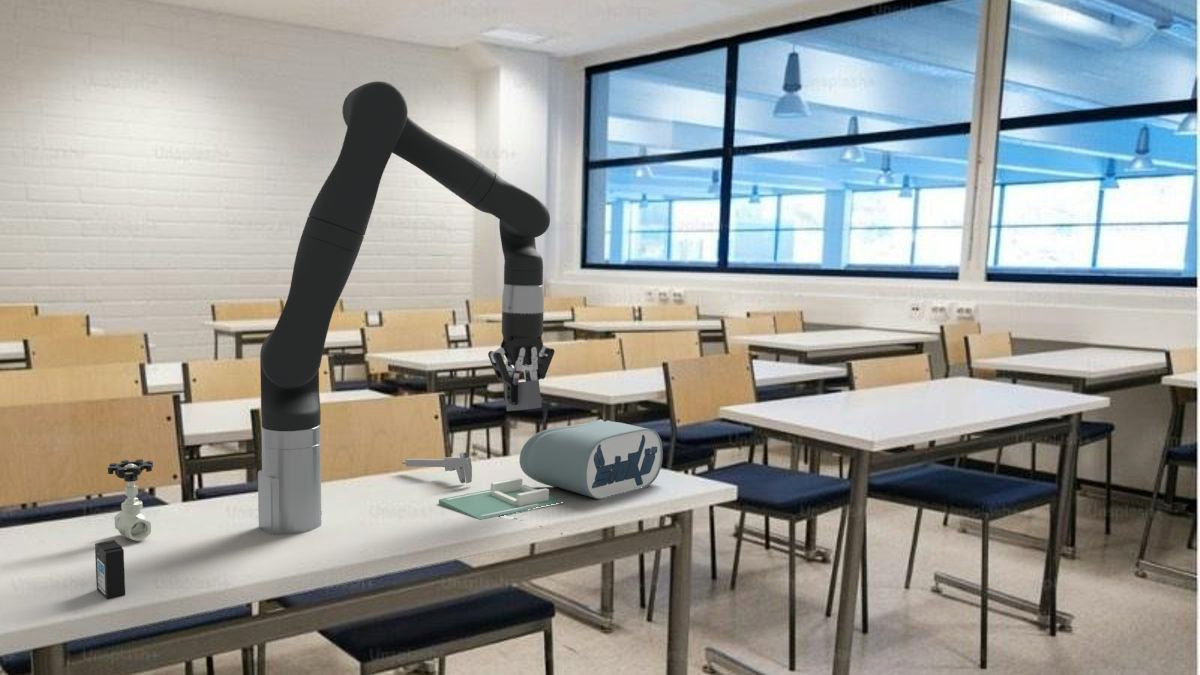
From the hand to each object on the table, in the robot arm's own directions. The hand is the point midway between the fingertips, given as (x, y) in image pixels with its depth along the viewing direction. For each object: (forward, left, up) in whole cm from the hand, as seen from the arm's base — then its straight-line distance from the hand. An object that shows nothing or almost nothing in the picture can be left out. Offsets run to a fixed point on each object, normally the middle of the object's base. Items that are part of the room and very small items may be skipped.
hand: (521, 403), depth 167 cm
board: (-4, 0, -19) cm, 19 cm away
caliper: (-4, +25, -20) cm, 32 cm away
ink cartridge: (-69, -5, -19) cm, 72 cm away
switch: (0, -4, +2) cm, 4 cm away
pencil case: (+18, +1, -19) cm, 26 cm away
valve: (-61, +20, -19) cm, 67 cm away
